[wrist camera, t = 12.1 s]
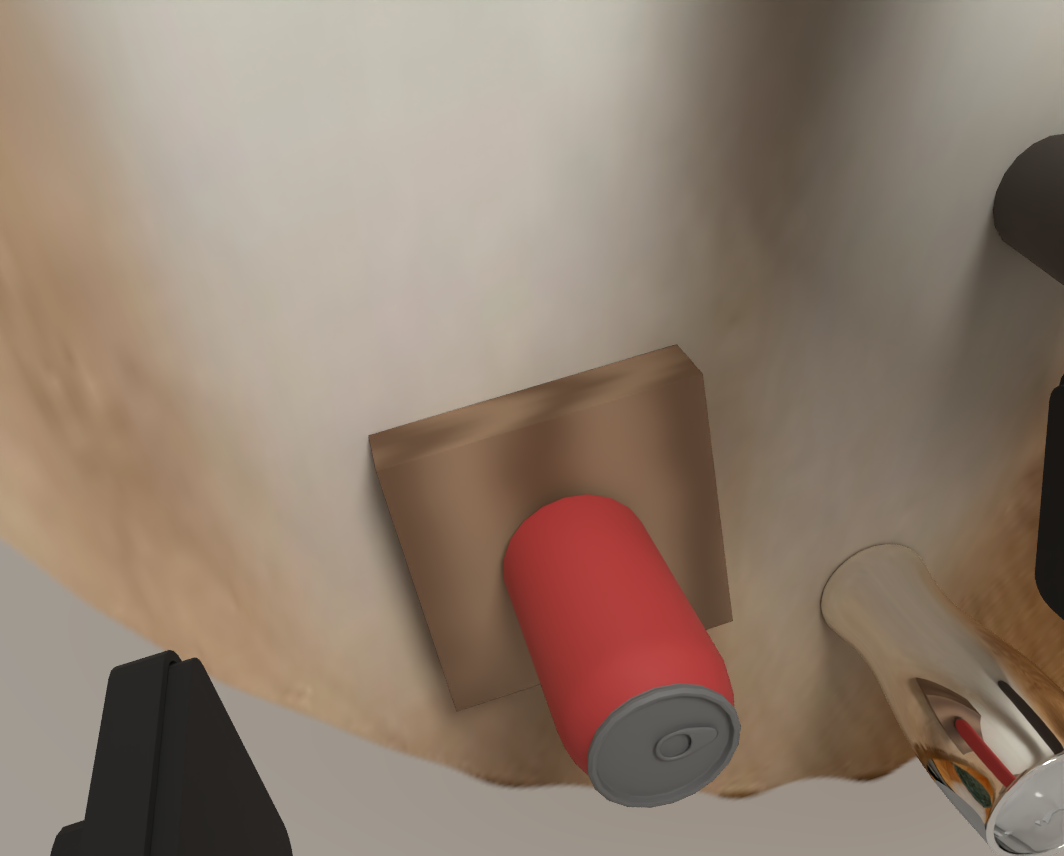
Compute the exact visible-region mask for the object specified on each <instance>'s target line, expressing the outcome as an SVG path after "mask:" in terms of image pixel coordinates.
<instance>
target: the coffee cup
mask: <svg viewBox="0 0 1064 856" xmlns="http://www.w3.org/2000/svg"><path fill="white" fill-rule="evenodd" d="M993 213H994V221H995V227H996V229H997V231H998V233H999V235H1000V237H1001V238H1002V240H1003V241H1004V242H1006V243H1007V244H1009V245H1010V246H1011V247H1013V248H1014V249H1015V250H1017V251H1018V252H1019V253H1021V254H1022V255H1023V256H1025V257H1026V258H1028V259H1029V260H1030V261H1032V262H1033V263H1034V264H1036V265H1037V266H1038V267H1040V268H1041V269H1042V270H1044V271H1045V272H1047V273H1048V274H1049V275H1051V276H1052V277H1053V278H1055V279H1056V280H1057V281H1059V282H1060V283H1061V284H1063V285H1064V134H1062V135H1054V136H1049V137H1047V138H1045V139H1043V140H1041V141H1039V142H1037V143H1034V144H1033V145H1031V146H1030V147H1029V148H1028V149H1027V150H1025V151H1024V152H1023V153H1022V154H1021V155H1019V156H1018V157H1017V158H1016V160H1015V161H1014V162H1013V164H1012V165H1011V166H1010V168H1009V169H1008V170H1007V172H1006V173H1005V174H1004V177H1003V179H1002V181H1001V183H1000V185H999V188H998V190H997V192H996V197H995V203H994V209H993Z"/></svg>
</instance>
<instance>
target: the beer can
mask: <svg viewBox="0 0 1064 856" xmlns="http://www.w3.org/2000/svg"><path fill="white" fill-rule="evenodd" d="M503 574H504V582H505V585H506V588H507V591H508V593H509V596H510V599H511V602H512V605H513V607H514V610H515V613H516V616H517V619H518V622H519V624H520V627H521V630H522V633H523V636H524V639H525V641H526V644H527V647H528V650H529V653H530V656H531V658H532V661H533V664H534V667H535V670H536V672H537V675H538V678H539V681H540V684H541V687H542V689H543V692H544V695H545V698H546V701H547V704H548V706H549V709H550V712H551V715H552V718H553V720H554V723H555V726H556V729H557V732H558V734H559V736H560V738H561V741H562V743H563V745H564V747H565V749H566V751H567V752H568V754H569V755H570V757H571V758H572V759H573V761H574V762H575V763H576V764H577V765H578V766H579V767H580V768H581V769H582V770H583V771H584V772H585V773H586V774H587V775H589V777H590V779H591V781H592V784H593V786H594V788H595V790H597V791H598V792H599V793H600V794H601V795H603V796H604V797H605V798H606V799H607V800H609V801H612V802H615V803H618V804H621V805H624V806H627V807H649V808H650V807H656V806H661V805H666V804H671V803H674V802H676V801H679V800H681V799H683V798H686V797H688V796H690V795H693V794H695V793H696V792H698V791H699V790H700V789H702V788H703V787H705V786H706V785H707V784H709V783H710V782H712V781H713V780H714V779H715V778H716V777H717V776H718V775H719V774H720V772H721V771H722V770H723V769H724V768H725V767H726V766H727V765H728V763H729V762H730V760H731V758H732V756H733V754H734V752H735V750H736V748H737V746H738V744H739V736H740V729H741V725H740V722H739V718H738V715H737V712H736V709H735V708H734V694H733V690H732V687H731V683H730V679H729V676H728V673H727V669H726V666H725V663H724V660H723V658H722V657H721V655H720V653H719V652H718V650H717V648H716V647H715V645H714V643H713V641H712V640H711V638H710V636H709V635H708V633H707V631H706V630H705V628H704V626H703V625H702V623H701V621H700V620H699V618H698V616H697V614H696V613H695V611H694V609H693V608H692V606H691V604H690V603H689V601H688V599H687V598H686V596H685V594H684V593H683V591H682V589H681V587H680V586H679V584H678V582H677V581H676V579H675V577H674V576H673V574H672V572H671V571H670V569H669V567H668V566H667V564H666V562H665V560H664V559H663V557H662V555H661V554H660V552H659V550H658V549H657V547H656V545H655V544H654V542H653V540H652V539H651V537H650V535H649V534H648V532H647V530H646V528H645V527H644V525H643V523H642V522H641V521H640V519H639V518H638V517H637V516H636V515H635V514H634V513H633V511H632V510H631V509H630V508H629V507H627V506H625V505H623V504H621V503H619V502H617V501H615V500H613V499H611V498H609V497H602V496H596V495H589V494H586V495H578V496H571V497H564V498H562V499H560V500H557V501H555V502H552V503H550V504H548V505H545V506H543V507H542V508H540V509H539V510H538V511H536V512H535V513H534V514H532V515H531V516H530V517H528V518H527V519H526V520H524V522H523V523H522V524H521V526H520V527H519V528H518V530H517V531H516V532H515V534H514V535H513V536H512V538H511V540H510V542H509V545H508V548H507V551H506V554H505V557H504V560H503Z"/></svg>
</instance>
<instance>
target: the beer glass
mask: <svg viewBox="0 0 1064 856" xmlns="http://www.w3.org/2000/svg"><path fill="white" fill-rule="evenodd" d="M821 610H822V614H823V617H824V619H825V621H826V623H827V624H828V625H829V627H830V628H831V629H832V630H833V631H834V632H835V633H836V634H838V635H839V636H840V637H841V638H842V639H844V640H845V641H846V642H847V643H848V644H850V645H851V646H852V647H853V648H854V649H855V650H856V651H857V652H858V653H859V654H860V655H861V656H862V658H863V659H864V660H865V661H866V663H867V664H868V666H869V667H870V669H871V670H872V672H873V673H874V675H875V677H876V679H877V681H878V683H879V685H880V687H881V689H882V691H883V693H884V695H885V697H886V699H887V701H888V703H889V706H890V708H891V710H892V712H893V714H894V716H895V718H896V720H897V722H898V724H899V726H900V728H901V730H902V732H903V733H904V735H905V737H906V739H907V740H908V742H909V744H910V746H911V748H912V749H913V751H914V753H915V755H916V756H917V757H918V759H919V760H920V762H921V763H922V765H923V766H924V768H925V769H926V770H927V772H928V773H929V775H930V776H931V778H932V779H933V780H934V781H935V783H936V784H937V785H938V786H939V788H940V789H941V790H942V792H943V793H944V794H945V795H946V797H947V798H948V799H949V800H950V801H951V803H952V804H953V805H954V806H955V807H956V809H957V810H958V811H959V812H960V813H961V814H962V815H963V816H964V818H965V819H966V820H967V821H968V822H969V823H970V824H971V826H972V827H973V828H974V829H975V830H976V831H977V832H978V833H979V834H980V836H981V837H982V838H983V839H984V840H985V841H986V843H987V844H988V845H989V847H990V848H991V850H992V851H993V852H994V853H995V854H997V855H998V856H1051V855H1054V854H1057V853H1059V852H1061V851H1063V850H1064V692H1063V691H1062V689H1061V688H1060V687H1059V686H1058V685H1057V684H1056V683H1055V682H1054V681H1053V680H1051V679H1050V678H1049V677H1048V676H1047V675H1046V674H1045V673H1044V672H1043V671H1042V670H1041V669H1040V668H1039V667H1038V666H1037V665H1036V664H1034V663H1033V662H1032V661H1031V660H1029V659H1028V658H1027V657H1026V656H1024V655H1023V654H1022V653H1021V652H1019V651H1018V650H1017V649H1016V648H1014V647H1013V646H1012V645H1010V644H1009V643H1007V642H1006V641H1005V640H1003V639H1002V638H1000V637H999V636H998V635H996V634H995V633H993V632H992V631H991V630H989V629H988V628H986V627H985V626H983V625H982V624H980V623H979V622H978V621H976V620H975V619H973V618H972V617H971V616H969V615H968V614H967V613H965V612H964V611H963V610H961V609H960V608H958V607H957V606H956V605H955V604H954V603H953V602H952V601H951V600H950V599H949V598H948V597H947V596H946V595H945V594H944V593H943V591H942V590H941V589H940V587H939V586H938V585H937V583H936V582H935V580H934V578H933V576H932V575H931V573H930V571H929V570H928V568H927V566H926V565H925V563H924V562H923V560H922V559H921V558H920V557H919V555H918V554H917V553H916V552H914V551H913V550H911V549H910V548H908V547H905V546H903V545H898V544H882V545H877V546H873V547H870V548H867V549H865V550H862V551H860V552H858V553H857V554H855V555H853V556H852V557H850V558H849V559H847V560H846V561H845V562H844V563H843V564H842V565H841V566H839V568H838V569H837V570H836V571H835V572H834V573H833V575H832V576H831V577H830V579H829V581H828V582H827V584H826V586H825V589H824V591H823V595H822V599H821Z"/></svg>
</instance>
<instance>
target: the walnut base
mask: <svg viewBox="0 0 1064 856" xmlns="http://www.w3.org/2000/svg"><path fill="white" fill-rule="evenodd" d="M369 440H370V445H371V449H372V454H373V459H374V464H375V469H376V473H377V476H378V479H379V482H380V485H381V488H382V491H383V494H384V496H385V499H386V502H387V505H388V508H389V511H390V514H391V517H392V520H393V523H394V526H395V529H396V532H397V535H398V538H399V541H400V544H401V547H402V550H403V553H404V556H405V559H406V562H407V565H408V568H409V571H410V574H411V577H412V580H413V583H414V586H415V589H416V592H417V595H418V598H419V601H420V604H421V607H422V610H423V613H424V616H425V619H426V622H427V625H428V628H429V631H430V634H431V637H432V639H433V642H434V645H435V648H436V651H437V654H438V657H439V660H440V663H441V666H442V669H443V672H444V675H445V678H446V681H447V684H448V687H449V690H450V693H451V696H452V699H453V702H454V705H455V708H456V711H460V710H463V709H466V708H469V707H472V706H475V705H478V704H481V703H485V702H488V701H491V700H494V699H497V698H500V697H503V696H506V695H509V694H512V693H515V692H518V691H521V690H524V689H527V688H530V687H533V686H536V685H539V684H540V681H539V678H538V675H537V672H536V670H535V667H534V664H533V661H532V658H531V656H530V653H529V650H528V647H527V644H526V641H525V639H524V636H523V633H522V630H521V627H520V624H519V622H518V619H517V616H516V613H515V610H514V607H513V605H512V602H511V599H510V596H509V593H508V591H507V588H506V585H505V582H504V574H503V560H504V557H505V554H506V551H507V548H508V545H509V542H510V540H511V538H512V536H513V535H514V534H515V532H516V531H517V530H518V528H519V527H520V526H521V524H522V523H523V522H524V520H526V519H527V518H528V517H530V516H531V515H532V514H534V513H535V512H536V511H538V510H539V509H540V508H542V507H543V506H545V505H548V504H550V503H552V502H555V501H557V500H560V499H562V498H564V497H571V496H578V495H586V494H589V495H596V496H602V497H609V498H611V499H613V500H615V501H617V502H619V503H621V504H623V505H625V506H627V507H629V508H630V509H631V510H632V511H633V513H634V514H635V515H636V516H637V517H638V518H639V519H640V521H641V522H642V523H643V525H644V527H645V528H646V530H647V532H648V534H649V535H650V537H651V539H652V540H653V542H654V544H655V545H656V547H657V549H658V550H659V552H660V554H661V555H662V557H663V559H664V560H665V562H666V564H667V566H668V567H669V569H670V571H671V572H672V574H673V576H674V577H675V579H676V581H677V582H678V584H679V586H680V587H681V589H682V591H683V593H684V594H685V596H686V598H687V599H688V601H689V603H690V604H691V606H692V608H693V609H694V611H695V613H696V614H697V616H698V618H699V620H700V621H701V623H702V625H703V626H704V628H705V630H707V629H710V628H713V627H716V626H719V625H722V624H725V623H728V622H731V621H733V619H732V610H731V602H730V594H729V586H728V578H727V570H726V561H725V553H724V545H723V537H722V529H721V520H720V512H719V504H718V496H717V488H716V480H715V471H714V463H713V455H712V447H711V439H710V430H709V422H708V414H707V406H706V398H705V390H704V381H703V374H702V372H701V371H700V370H699V369H698V368H697V367H696V366H695V365H694V363H693V362H692V361H691V360H690V359H689V358H688V357H687V355H686V354H685V353H684V352H683V351H682V350H681V349H680V348H679V346H678V345H677V344H676V345H673V346H670V347H666V348H663V349H660V350H656V351H653V352H649V353H646V354H643V355H639V356H636V357H632V358H629V359H626V360H622V361H619V362H616V363H612V364H609V365H605V366H602V367H599V368H595V369H592V370H589V371H585V372H582V373H578V374H575V375H572V376H568V377H565V378H561V379H558V380H555V381H551V382H548V383H545V384H541V385H538V386H534V387H531V388H528V389H524V390H521V391H518V392H514V393H511V394H507V395H504V396H501V397H497V398H494V399H490V400H487V401H484V402H480V403H477V404H474V405H470V406H467V407H463V408H460V409H457V410H453V411H450V412H447V413H443V414H440V415H436V416H433V417H430V418H426V419H423V420H419V421H416V422H413V423H409V424H406V425H403V426H399V427H396V428H392V429H389V430H386V431H382V432H379V433H376V434H372V435H369Z"/></svg>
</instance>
